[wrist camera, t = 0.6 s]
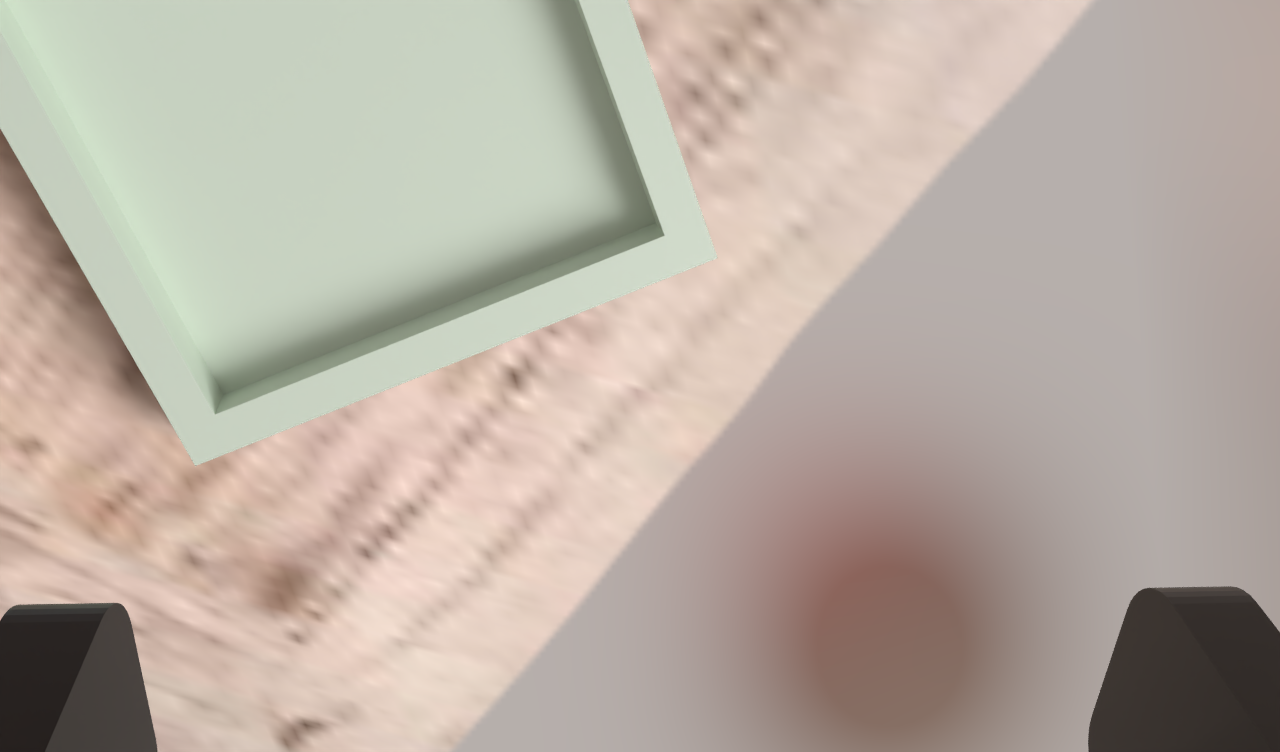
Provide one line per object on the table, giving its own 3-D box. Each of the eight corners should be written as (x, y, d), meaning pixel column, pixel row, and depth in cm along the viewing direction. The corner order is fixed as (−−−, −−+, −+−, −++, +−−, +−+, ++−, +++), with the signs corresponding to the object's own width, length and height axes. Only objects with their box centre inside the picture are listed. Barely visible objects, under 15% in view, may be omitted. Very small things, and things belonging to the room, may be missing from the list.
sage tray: (-91, -103, 31) (-134, -103, 28) (499, -333, 31) (505, -352, 29) (210, 430, 37) (195, 466, 35) (700, 235, 37) (717, 258, 35)
